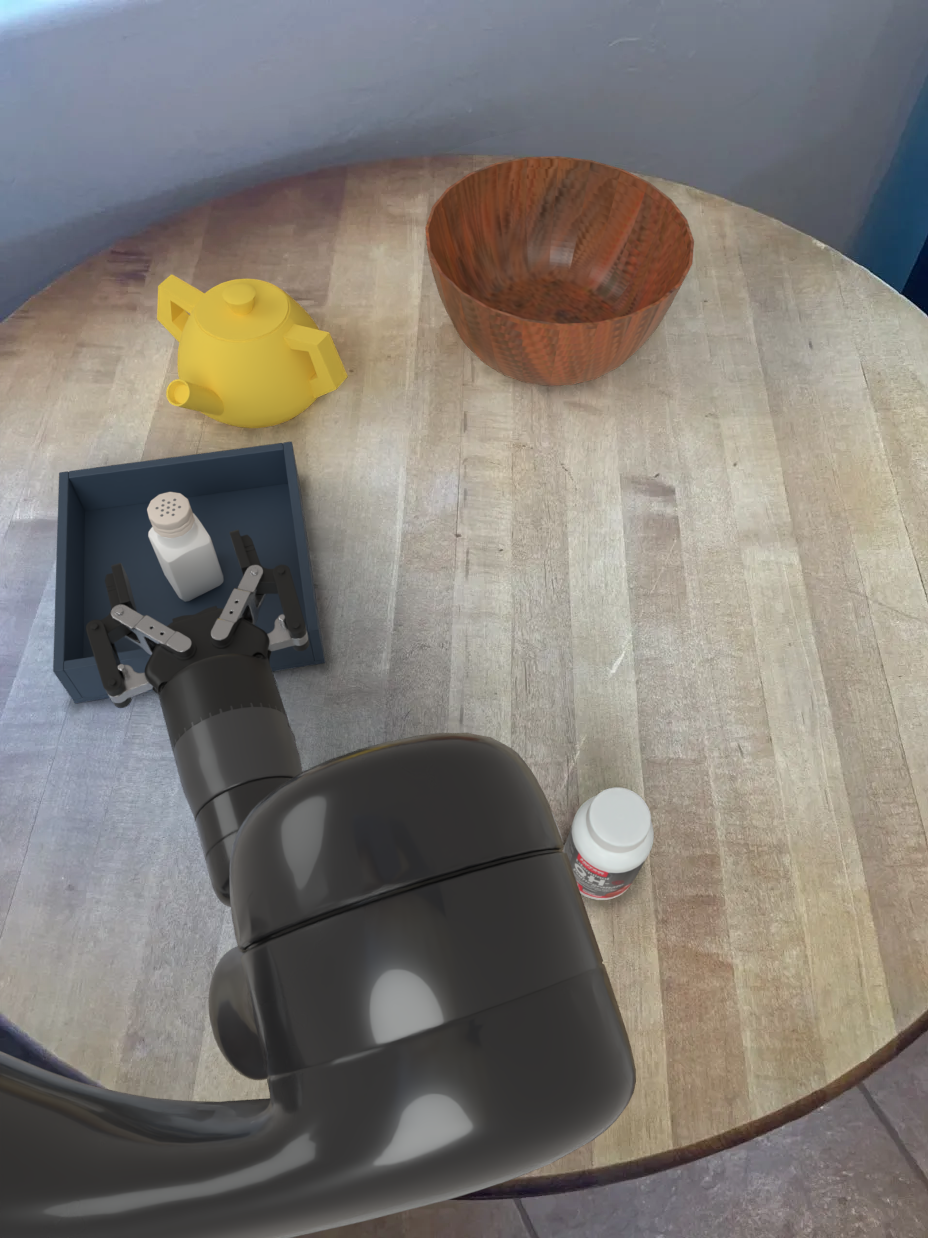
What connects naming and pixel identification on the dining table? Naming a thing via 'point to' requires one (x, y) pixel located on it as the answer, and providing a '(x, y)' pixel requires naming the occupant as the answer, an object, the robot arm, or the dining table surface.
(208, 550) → the salt shaker
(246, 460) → the tray
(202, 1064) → the dining table surface
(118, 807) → the dining table surface
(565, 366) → the bowl
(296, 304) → the teapot
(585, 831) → the pill bottle
